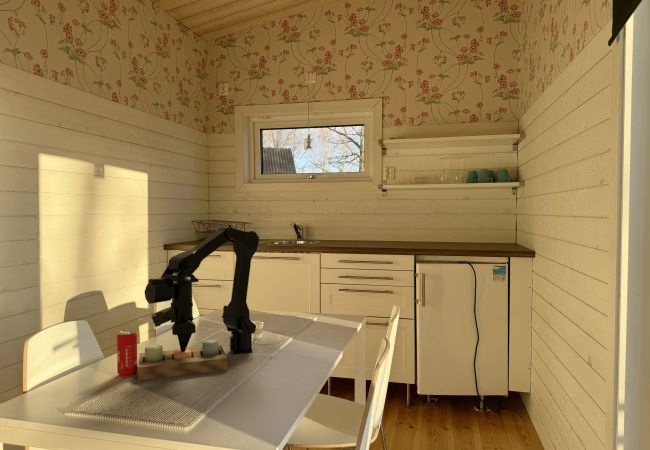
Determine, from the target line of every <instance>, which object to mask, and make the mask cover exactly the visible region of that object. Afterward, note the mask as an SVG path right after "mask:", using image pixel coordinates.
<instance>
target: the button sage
mask: <svg viewBox="0 0 650 450" xmlns="http://www.w3.org/2000/svg"><path fill="white" fill-rule="evenodd" d="M163 349H164V348H163V345H161V344H152V345H147V346H145V347H144V353H145V362H155V361H163V351H164V350H163Z"/></svg>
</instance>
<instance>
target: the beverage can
mask: <svg viewBox="0 0 650 450" xmlns="http://www.w3.org/2000/svg"><path fill="white" fill-rule="evenodd" d="M116 356H117V357H116V358H117V361H116V363H117V364H116V365H117V367H116V368H117V375H118V377H120V378H131V377H133V376H136V374H137V373H138V334H137V331H136V330H133V329H132V330H131V329H130V330H129V329H128V330H122V331H118V333H117V335H116Z"/></svg>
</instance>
